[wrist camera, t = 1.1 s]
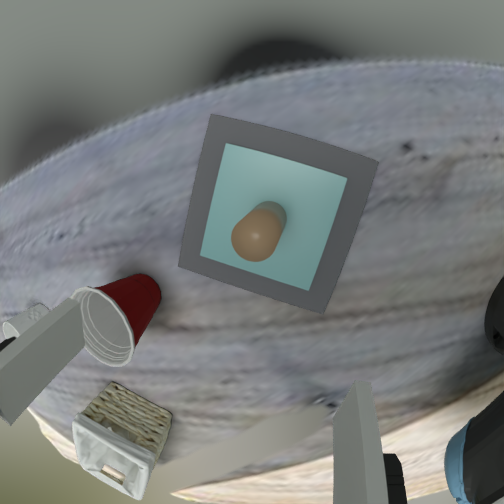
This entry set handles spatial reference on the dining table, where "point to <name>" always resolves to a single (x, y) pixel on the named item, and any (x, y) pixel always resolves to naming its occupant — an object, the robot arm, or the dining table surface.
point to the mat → (293, 149)
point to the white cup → (24, 321)
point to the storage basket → (121, 438)
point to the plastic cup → (117, 316)
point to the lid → (271, 215)
